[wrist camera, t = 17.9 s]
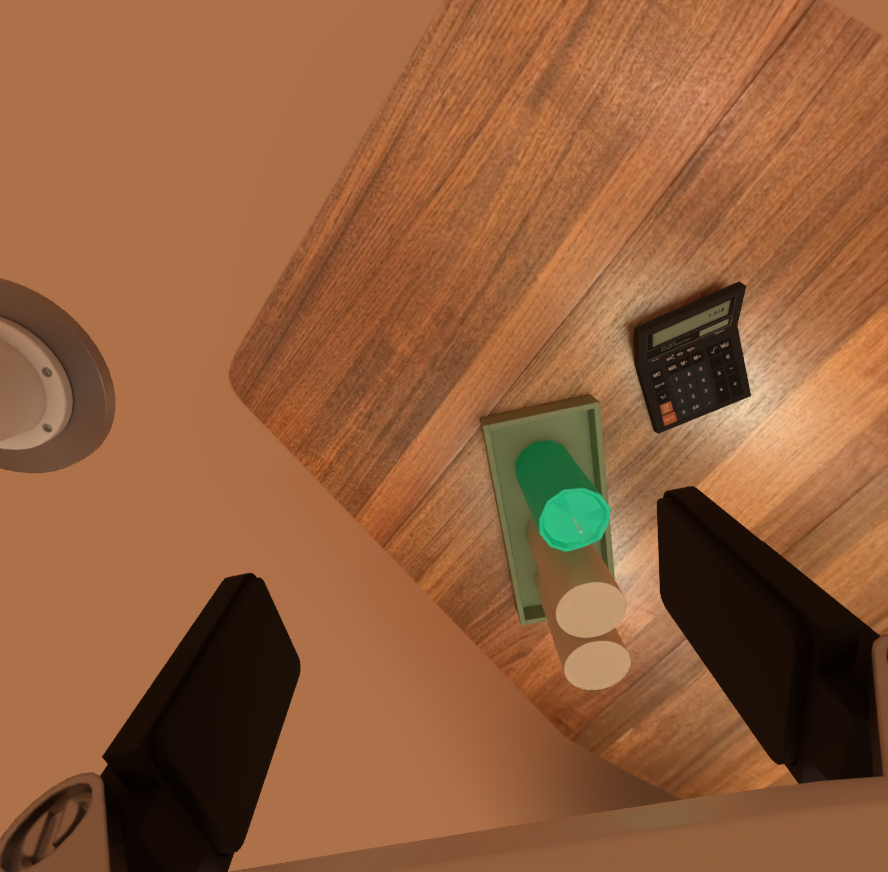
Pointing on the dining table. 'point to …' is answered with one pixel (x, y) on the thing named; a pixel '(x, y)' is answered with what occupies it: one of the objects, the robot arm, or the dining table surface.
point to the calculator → (692, 359)
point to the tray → (504, 442)
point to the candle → (561, 497)
